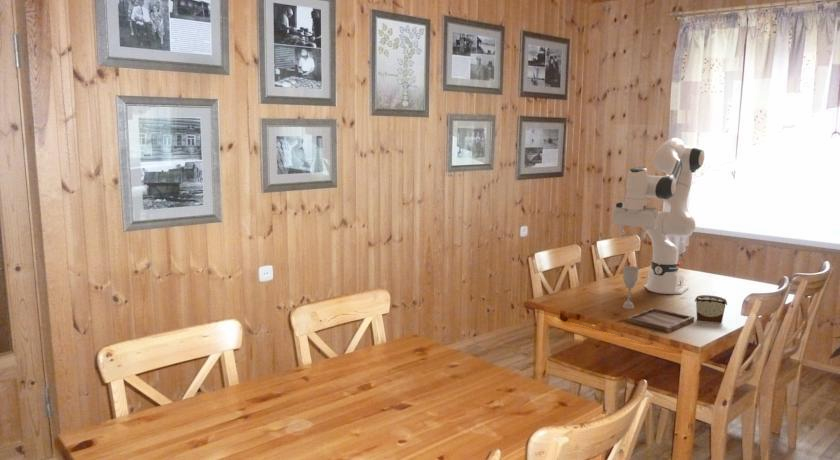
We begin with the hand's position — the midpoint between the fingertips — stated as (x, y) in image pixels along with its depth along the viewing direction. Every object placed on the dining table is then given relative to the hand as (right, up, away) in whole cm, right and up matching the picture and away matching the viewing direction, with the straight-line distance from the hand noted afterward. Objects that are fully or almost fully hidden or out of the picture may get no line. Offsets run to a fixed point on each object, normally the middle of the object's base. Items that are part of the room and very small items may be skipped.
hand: (632, 236), depth 274 cm
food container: (+27, -35, -13) cm, 46 cm away
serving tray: (+6, -35, -16) cm, 39 cm away
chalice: (0, -32, +5) cm, 32 cm away
